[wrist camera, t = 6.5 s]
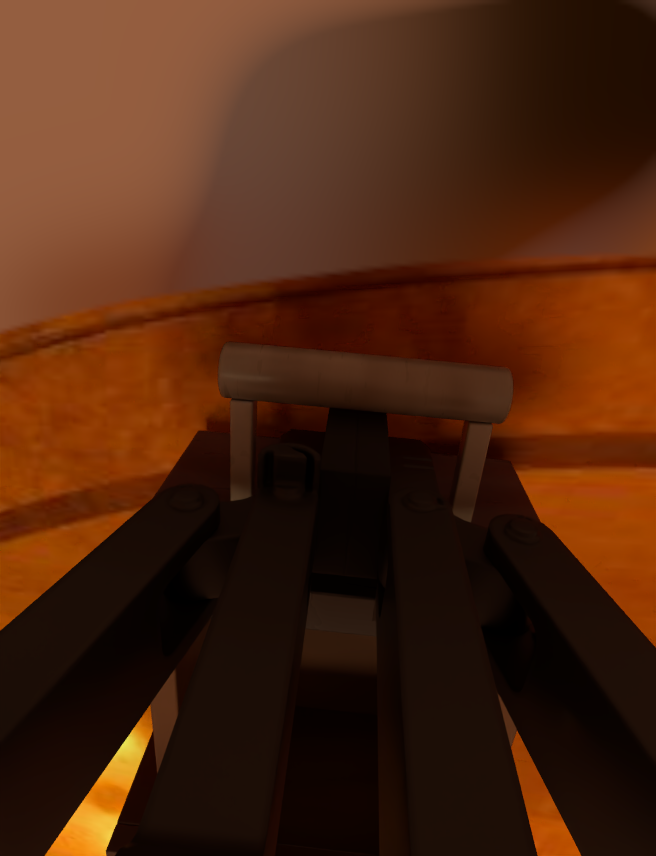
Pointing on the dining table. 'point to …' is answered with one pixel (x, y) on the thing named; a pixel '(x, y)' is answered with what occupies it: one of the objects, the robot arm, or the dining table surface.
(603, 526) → the dining table surface
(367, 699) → the drawer
